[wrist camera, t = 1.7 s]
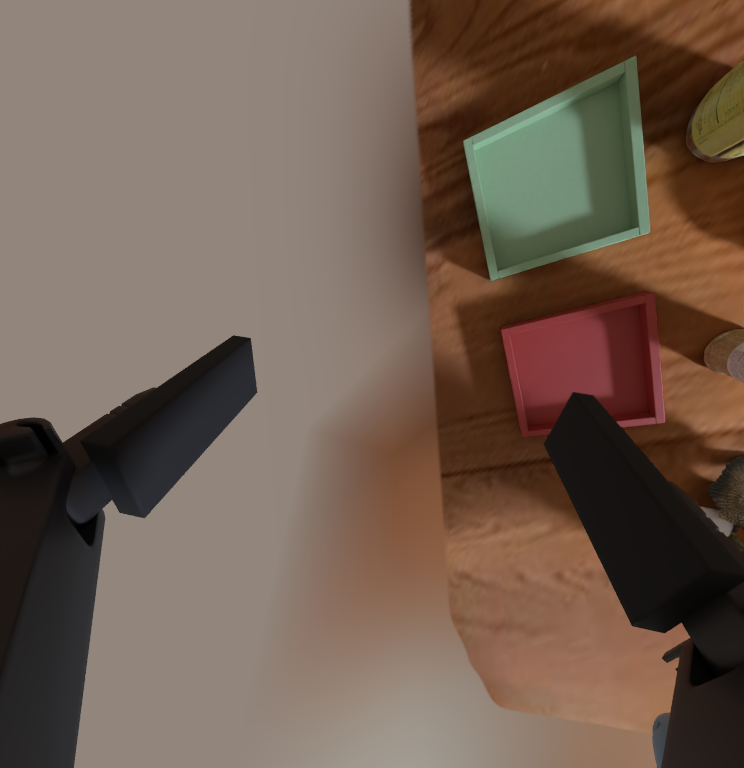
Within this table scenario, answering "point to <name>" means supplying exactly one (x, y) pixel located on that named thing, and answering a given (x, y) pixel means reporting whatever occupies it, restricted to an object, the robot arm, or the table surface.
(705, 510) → the eagle figurine
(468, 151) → the green tray
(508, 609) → the table surface
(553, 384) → the red tray
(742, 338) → the sprinkles bottle
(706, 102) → the sauce bottle
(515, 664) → the table surface
